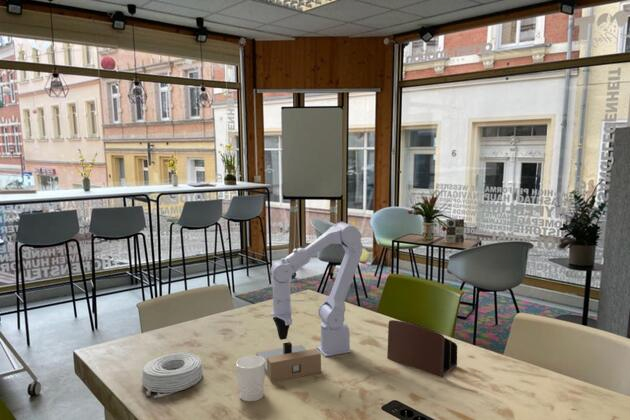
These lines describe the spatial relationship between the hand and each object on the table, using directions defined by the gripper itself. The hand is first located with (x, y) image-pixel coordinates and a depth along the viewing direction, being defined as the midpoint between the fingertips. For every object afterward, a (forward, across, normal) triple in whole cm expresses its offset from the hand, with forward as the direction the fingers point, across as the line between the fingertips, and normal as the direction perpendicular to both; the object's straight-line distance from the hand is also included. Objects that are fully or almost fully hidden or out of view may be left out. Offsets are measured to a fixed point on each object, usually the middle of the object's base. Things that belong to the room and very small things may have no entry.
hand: (282, 338), depth 149 cm
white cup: (+7, +19, -15) cm, 25 cm away
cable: (+7, +2, -35) cm, 36 cm away
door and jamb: (+7, +5, 0) cm, 8 cm away
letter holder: (+7, +20, +40) cm, 45 cm away
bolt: (+5, +9, 0) cm, 10 cm away
